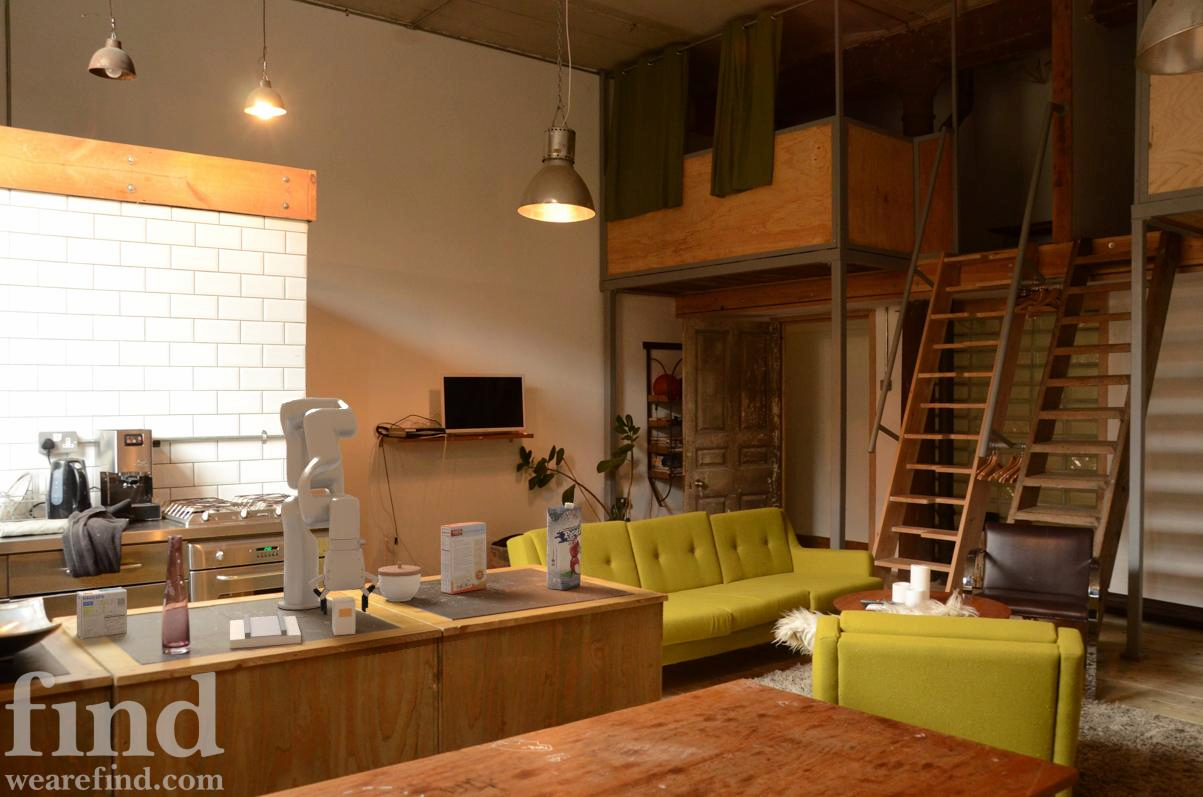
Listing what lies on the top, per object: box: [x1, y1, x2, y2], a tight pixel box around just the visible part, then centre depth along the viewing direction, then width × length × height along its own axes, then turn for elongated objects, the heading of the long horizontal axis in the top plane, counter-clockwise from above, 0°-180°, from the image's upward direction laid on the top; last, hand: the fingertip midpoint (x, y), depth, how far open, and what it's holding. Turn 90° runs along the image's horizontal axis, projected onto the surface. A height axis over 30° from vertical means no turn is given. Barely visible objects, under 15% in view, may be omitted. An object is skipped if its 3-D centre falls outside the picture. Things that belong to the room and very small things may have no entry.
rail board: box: [229, 611, 302, 649], centre depth 238 cm, size 22×16×3 cm
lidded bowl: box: [377, 561, 422, 603], centre depth 284 cm, size 13×13×11 cm
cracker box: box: [440, 521, 487, 595], centre depth 298 cm, size 14×6×21 cm, turn 136°
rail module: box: [331, 596, 357, 636], centre depth 243 cm, size 7×5×8 cm
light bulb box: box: [76, 586, 128, 639], centre depth 240 cm, size 11×7×11 cm, turn 129°
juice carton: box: [546, 502, 582, 591], centre depth 304 cm, size 9×10×27 cm
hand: (344, 612), depth 243 cm, fingers open, 9 cm apart
